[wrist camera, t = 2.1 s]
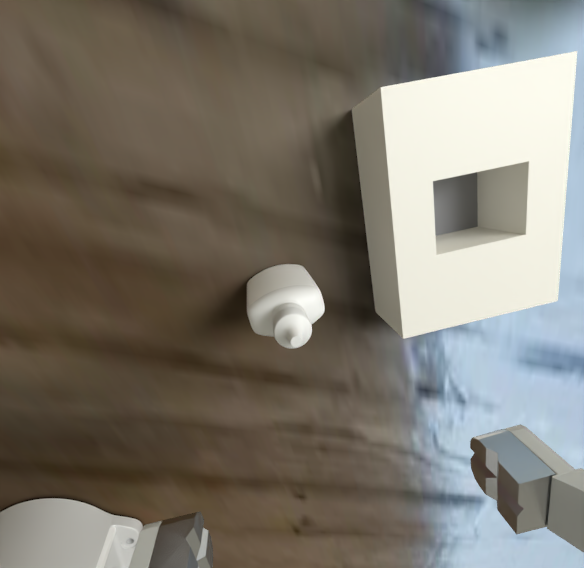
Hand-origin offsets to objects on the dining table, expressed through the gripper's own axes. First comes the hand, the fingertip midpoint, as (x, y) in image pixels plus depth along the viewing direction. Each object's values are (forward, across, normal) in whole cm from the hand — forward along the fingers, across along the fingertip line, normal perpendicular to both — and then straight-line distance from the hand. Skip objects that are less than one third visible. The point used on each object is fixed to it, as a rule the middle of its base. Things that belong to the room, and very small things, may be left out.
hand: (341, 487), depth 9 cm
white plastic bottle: (+22, 0, 0) cm, 22 cm away
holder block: (+22, -16, -4) cm, 27 cm away
